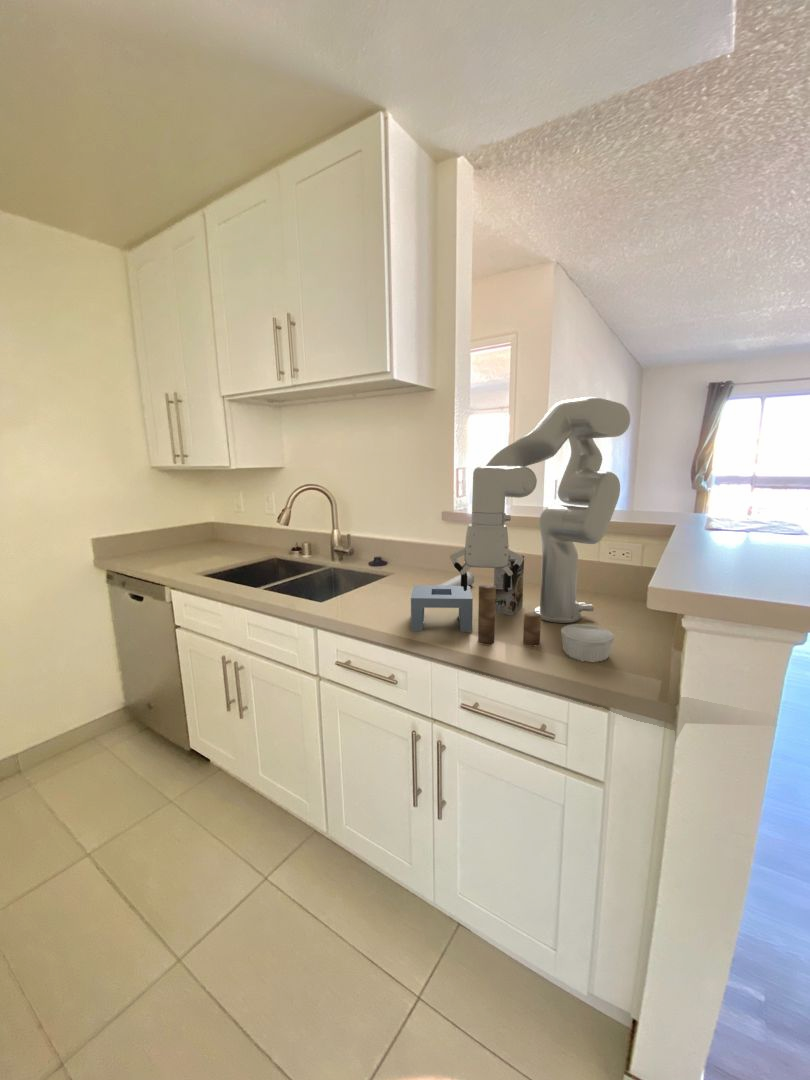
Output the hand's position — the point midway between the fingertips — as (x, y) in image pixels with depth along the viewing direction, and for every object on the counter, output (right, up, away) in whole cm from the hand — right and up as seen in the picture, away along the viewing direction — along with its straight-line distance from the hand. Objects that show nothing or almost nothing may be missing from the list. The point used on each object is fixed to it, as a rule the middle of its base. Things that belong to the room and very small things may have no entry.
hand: (485, 590), depth 104 cm
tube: (-4, -7, +42) cm, 43 cm away
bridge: (-9, -11, +15) cm, 21 cm away
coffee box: (+12, -9, +26) cm, 30 cm away
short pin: (+12, -13, +2) cm, 18 cm away
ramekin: (+22, -14, -5) cm, 27 cm away
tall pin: (+1, -13, +3) cm, 13 cm away
